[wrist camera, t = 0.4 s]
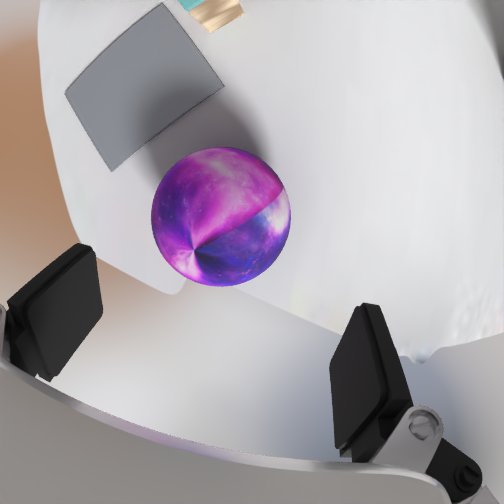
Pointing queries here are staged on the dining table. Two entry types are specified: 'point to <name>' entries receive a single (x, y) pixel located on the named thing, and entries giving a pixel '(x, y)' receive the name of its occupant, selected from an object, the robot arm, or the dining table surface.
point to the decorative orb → (220, 216)
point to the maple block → (213, 12)
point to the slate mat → (141, 86)
